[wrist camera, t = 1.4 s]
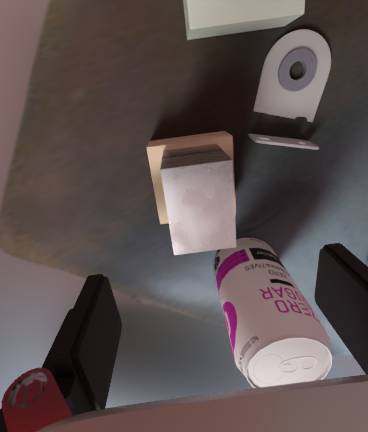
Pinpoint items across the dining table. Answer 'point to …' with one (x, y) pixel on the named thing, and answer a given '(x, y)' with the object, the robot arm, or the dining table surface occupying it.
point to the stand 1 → (158, 146)
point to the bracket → (293, 82)
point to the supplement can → (269, 318)
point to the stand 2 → (238, 16)
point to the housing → (199, 198)
